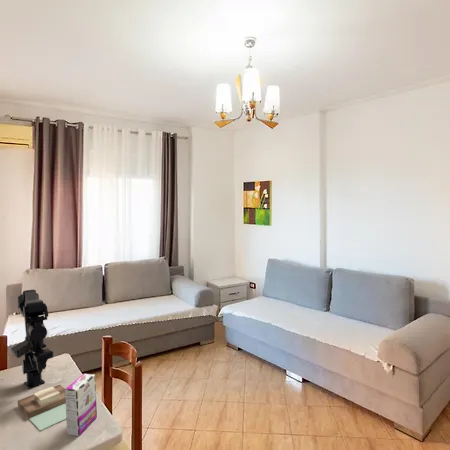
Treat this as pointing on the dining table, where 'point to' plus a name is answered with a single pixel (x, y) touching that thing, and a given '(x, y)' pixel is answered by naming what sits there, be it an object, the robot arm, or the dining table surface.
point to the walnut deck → (34, 408)
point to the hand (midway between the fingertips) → (37, 370)
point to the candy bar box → (80, 404)
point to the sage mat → (49, 417)
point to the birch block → (46, 396)
